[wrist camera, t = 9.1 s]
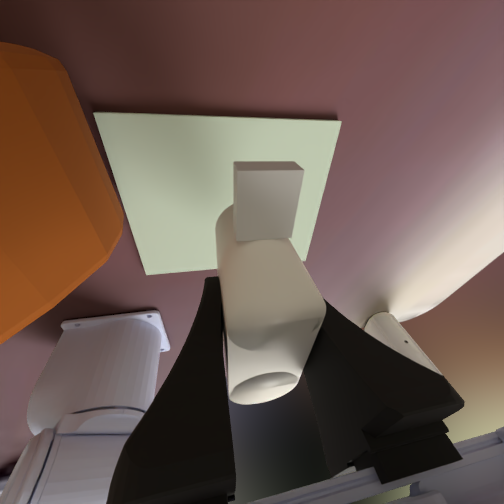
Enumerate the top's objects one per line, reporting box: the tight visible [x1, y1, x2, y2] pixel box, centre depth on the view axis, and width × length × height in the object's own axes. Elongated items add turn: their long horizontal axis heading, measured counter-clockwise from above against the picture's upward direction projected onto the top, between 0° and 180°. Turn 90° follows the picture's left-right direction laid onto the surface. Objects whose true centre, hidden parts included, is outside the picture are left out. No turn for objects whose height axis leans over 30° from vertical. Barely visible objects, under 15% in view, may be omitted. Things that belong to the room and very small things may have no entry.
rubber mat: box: [93, 112, 342, 275], centre depth 19 cm, size 16×13×1 cm
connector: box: [215, 161, 326, 404], centre depth 10 cm, size 3×11×6 cm, turn 177°
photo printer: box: [364, 312, 443, 376], centre depth 33 cm, size 10×4×12 cm, turn 4°
